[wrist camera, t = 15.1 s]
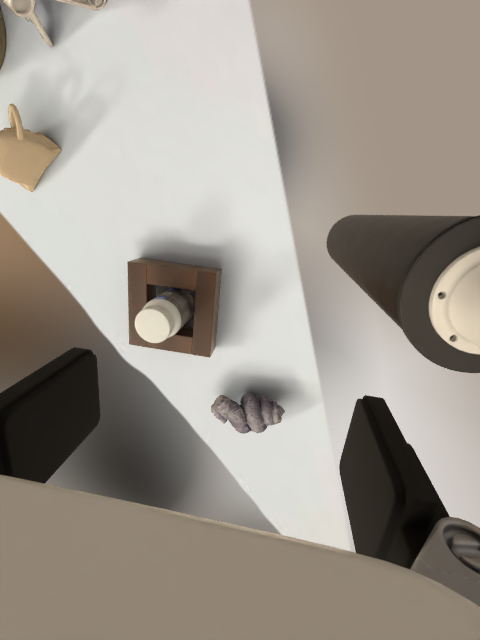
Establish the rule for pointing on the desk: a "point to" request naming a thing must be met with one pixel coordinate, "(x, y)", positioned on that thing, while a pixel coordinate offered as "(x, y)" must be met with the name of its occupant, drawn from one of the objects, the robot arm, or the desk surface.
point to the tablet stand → (23, 6)
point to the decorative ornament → (24, 152)
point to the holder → (184, 277)
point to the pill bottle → (164, 315)
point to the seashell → (248, 412)
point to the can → (2, 39)
